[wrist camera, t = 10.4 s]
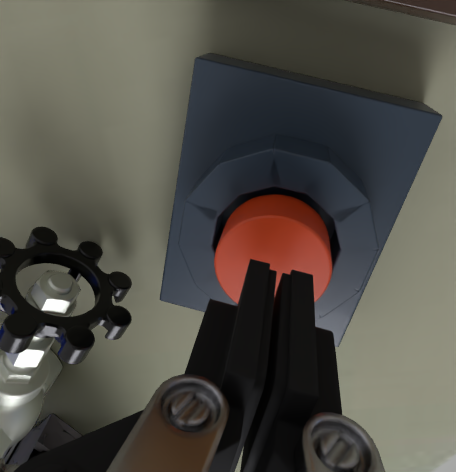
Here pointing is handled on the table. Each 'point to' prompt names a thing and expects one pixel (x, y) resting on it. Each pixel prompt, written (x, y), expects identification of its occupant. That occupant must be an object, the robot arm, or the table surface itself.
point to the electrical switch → (40, 440)
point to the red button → (273, 243)
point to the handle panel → (418, 8)
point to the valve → (49, 323)
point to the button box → (291, 172)
